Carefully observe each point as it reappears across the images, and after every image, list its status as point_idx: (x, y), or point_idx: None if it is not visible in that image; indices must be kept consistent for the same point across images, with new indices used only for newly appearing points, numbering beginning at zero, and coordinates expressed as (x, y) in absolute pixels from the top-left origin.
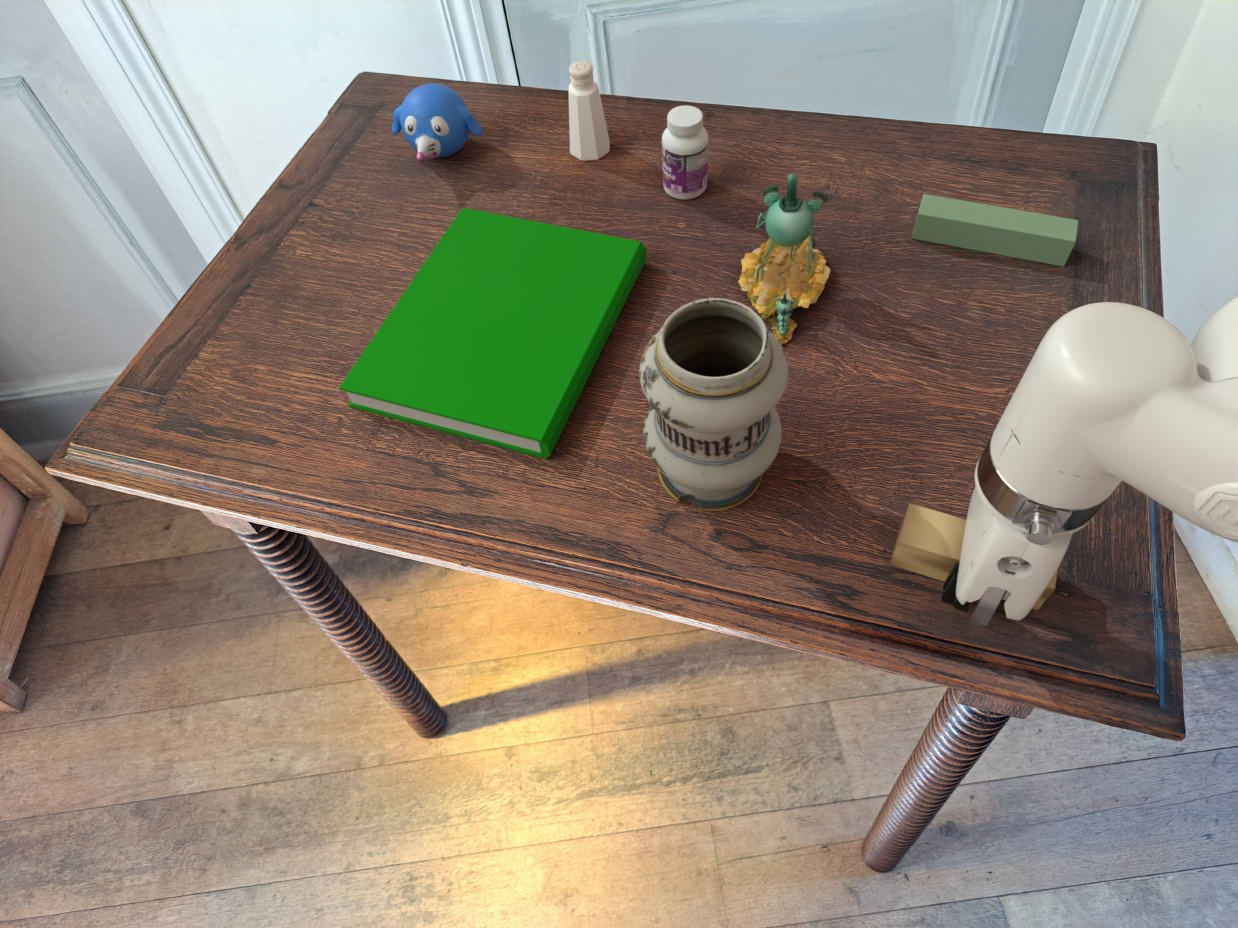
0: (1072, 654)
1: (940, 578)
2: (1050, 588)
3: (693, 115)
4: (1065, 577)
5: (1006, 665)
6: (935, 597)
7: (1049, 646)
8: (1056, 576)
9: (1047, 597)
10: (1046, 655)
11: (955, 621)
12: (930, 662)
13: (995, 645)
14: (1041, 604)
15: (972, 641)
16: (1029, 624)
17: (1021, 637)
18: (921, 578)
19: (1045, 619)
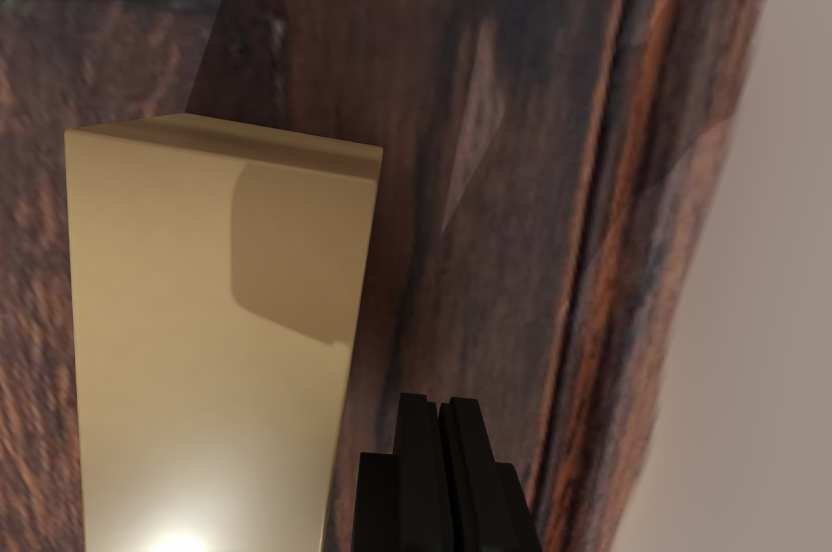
0: (555, 15)
1: (335, 468)
2: (374, 200)
3: None
4: (192, 19)
5: (618, 262)
6: None
7: (530, 108)
8: (290, 168)
9: (380, 167)
10: (569, 121)
11: None
12: (622, 468)
13: (547, 295)
14: (381, 157)
15: (541, 363)
16: (448, 180)
17: (506, 210)
18: (342, 503)
19: (415, 118)
